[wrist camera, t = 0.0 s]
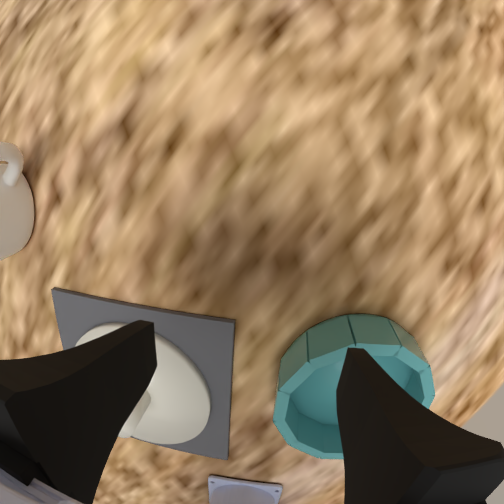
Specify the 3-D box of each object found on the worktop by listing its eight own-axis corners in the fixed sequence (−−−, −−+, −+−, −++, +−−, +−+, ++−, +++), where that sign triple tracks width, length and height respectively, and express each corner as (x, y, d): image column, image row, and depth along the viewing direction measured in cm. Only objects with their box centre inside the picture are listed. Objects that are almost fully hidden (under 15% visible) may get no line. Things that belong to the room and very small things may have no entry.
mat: (228, 456, 27) (227, 460, 26) (87, 418, 28) (85, 421, 28) (235, 319, 22) (233, 323, 22) (54, 287, 24) (51, 289, 23)
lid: (212, 448, 26) (199, 488, 21) (93, 416, 27) (71, 446, 23) (212, 338, 22) (192, 380, 18) (66, 308, 24) (30, 335, 19)
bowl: (392, 424, 23) (401, 456, 20) (271, 419, 25) (266, 454, 21) (434, 318, 20) (456, 346, 16) (287, 306, 21) (285, 337, 18)
